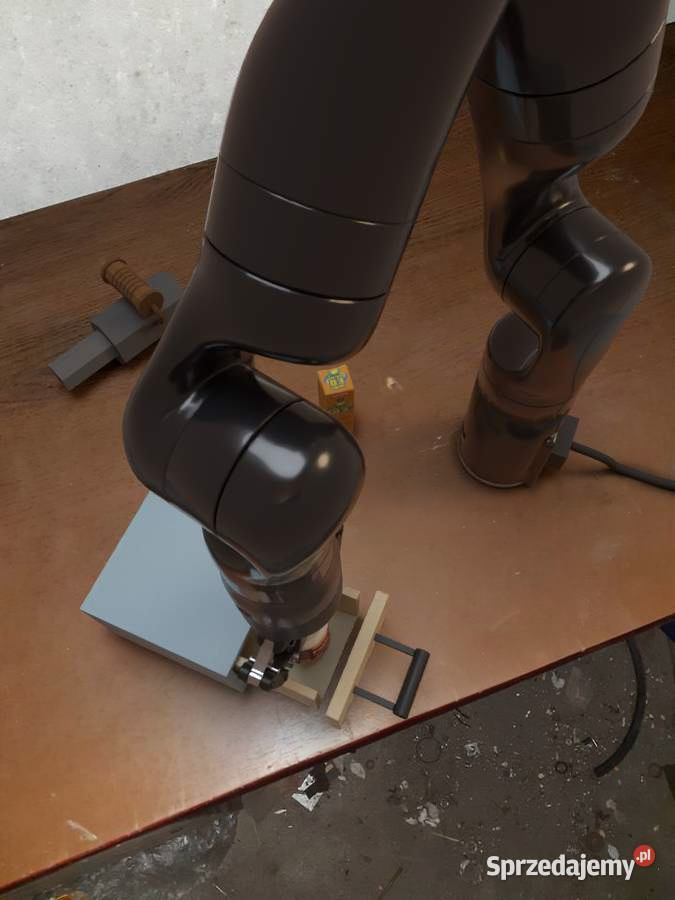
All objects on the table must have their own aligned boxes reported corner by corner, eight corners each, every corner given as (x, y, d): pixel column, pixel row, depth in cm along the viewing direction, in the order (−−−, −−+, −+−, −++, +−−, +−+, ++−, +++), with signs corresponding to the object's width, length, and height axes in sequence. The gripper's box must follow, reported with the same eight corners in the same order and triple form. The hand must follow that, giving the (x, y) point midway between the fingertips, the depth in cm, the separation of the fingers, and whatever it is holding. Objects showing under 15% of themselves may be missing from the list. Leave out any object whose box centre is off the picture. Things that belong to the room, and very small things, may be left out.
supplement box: (327, 441, 78) (323, 395, 69) (319, 416, 80) (314, 367, 71) (355, 434, 78) (355, 387, 70) (347, 409, 80) (345, 360, 71)
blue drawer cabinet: (298, 574, 71) (290, 544, 63) (243, 693, 66) (226, 677, 58) (175, 523, 74) (151, 487, 66) (113, 632, 69) (78, 609, 61)
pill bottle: (325, 668, 62) (320, 650, 55) (274, 657, 63) (262, 638, 55) (335, 616, 64) (332, 592, 57) (286, 606, 65) (276, 581, 57)
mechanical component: (45, 367, 84) (7, 316, 75) (159, 286, 89) (136, 229, 80) (93, 418, 80) (59, 370, 71) (208, 330, 86) (190, 275, 77)
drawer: (436, 636, 67) (444, 617, 60) (393, 754, 63) (397, 748, 56) (263, 564, 71) (253, 538, 64) (211, 670, 66) (194, 655, 59)
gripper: (288, 700, 41) (308, 726, 56) (378, 494, 47) (374, 569, 62) (178, 649, 43) (226, 688, 58) (278, 456, 48) (298, 538, 63)
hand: (303, 626), depth 60 cm, fingers closed on pill bottle, 4 cm apart
